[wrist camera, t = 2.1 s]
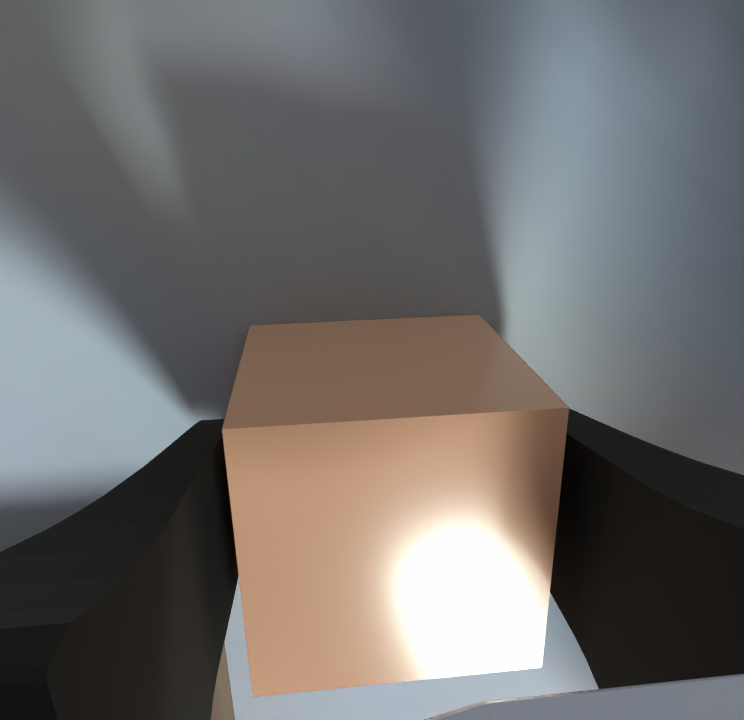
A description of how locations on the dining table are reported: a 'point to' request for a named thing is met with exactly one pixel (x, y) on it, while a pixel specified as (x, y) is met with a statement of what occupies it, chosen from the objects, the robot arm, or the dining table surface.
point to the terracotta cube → (391, 501)
